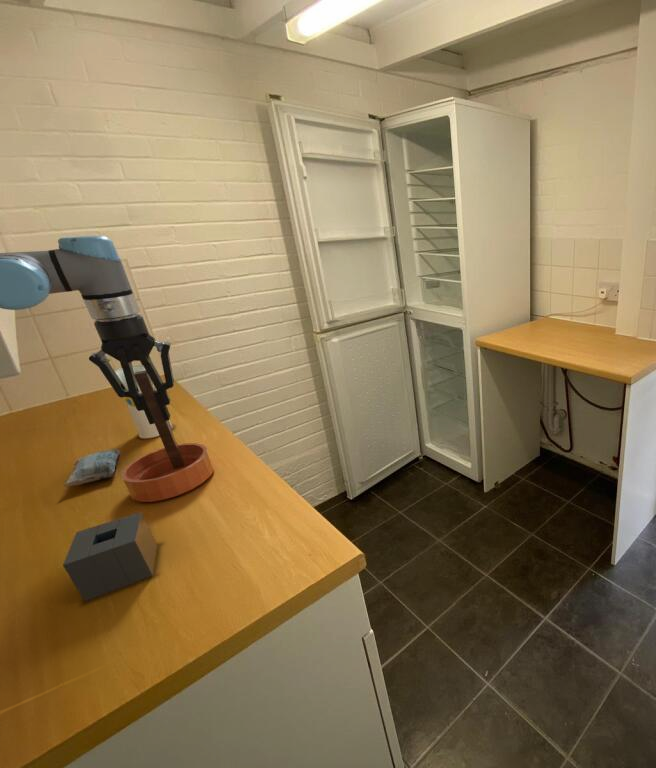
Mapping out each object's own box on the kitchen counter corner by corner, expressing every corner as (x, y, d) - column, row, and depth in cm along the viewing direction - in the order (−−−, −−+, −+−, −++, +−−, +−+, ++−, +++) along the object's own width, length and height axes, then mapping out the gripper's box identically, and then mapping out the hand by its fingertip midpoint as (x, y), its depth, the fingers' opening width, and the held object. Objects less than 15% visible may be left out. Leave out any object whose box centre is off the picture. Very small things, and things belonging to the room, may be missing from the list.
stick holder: (85, 601, 68) (62, 565, 65) (96, 566, 75) (76, 532, 72) (153, 575, 72) (134, 540, 69) (157, 544, 79) (141, 511, 76)
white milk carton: (163, 437, 117) (128, 353, 107) (130, 440, 116) (91, 356, 106) (181, 423, 125) (149, 343, 115) (149, 426, 124) (115, 345, 114)
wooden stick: (174, 469, 97) (133, 374, 87) (174, 465, 99) (135, 371, 89) (184, 466, 98) (145, 372, 88) (184, 463, 100) (147, 369, 90)
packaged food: (68, 494, 94) (59, 476, 92) (79, 470, 103) (70, 453, 101) (119, 480, 99) (110, 463, 97) (125, 458, 108) (117, 442, 106)
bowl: (127, 514, 87) (115, 491, 85) (136, 478, 99) (126, 457, 97) (215, 487, 95) (206, 465, 93) (214, 456, 107) (206, 436, 105)
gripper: (61, 327, 77) (113, 437, 87) (162, 314, 85) (200, 416, 94) (71, 319, 83) (119, 423, 92) (165, 308, 91) (201, 405, 100)
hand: (160, 419), depth 93 cm, fingers closed on wooden stick, 2 cm apart
